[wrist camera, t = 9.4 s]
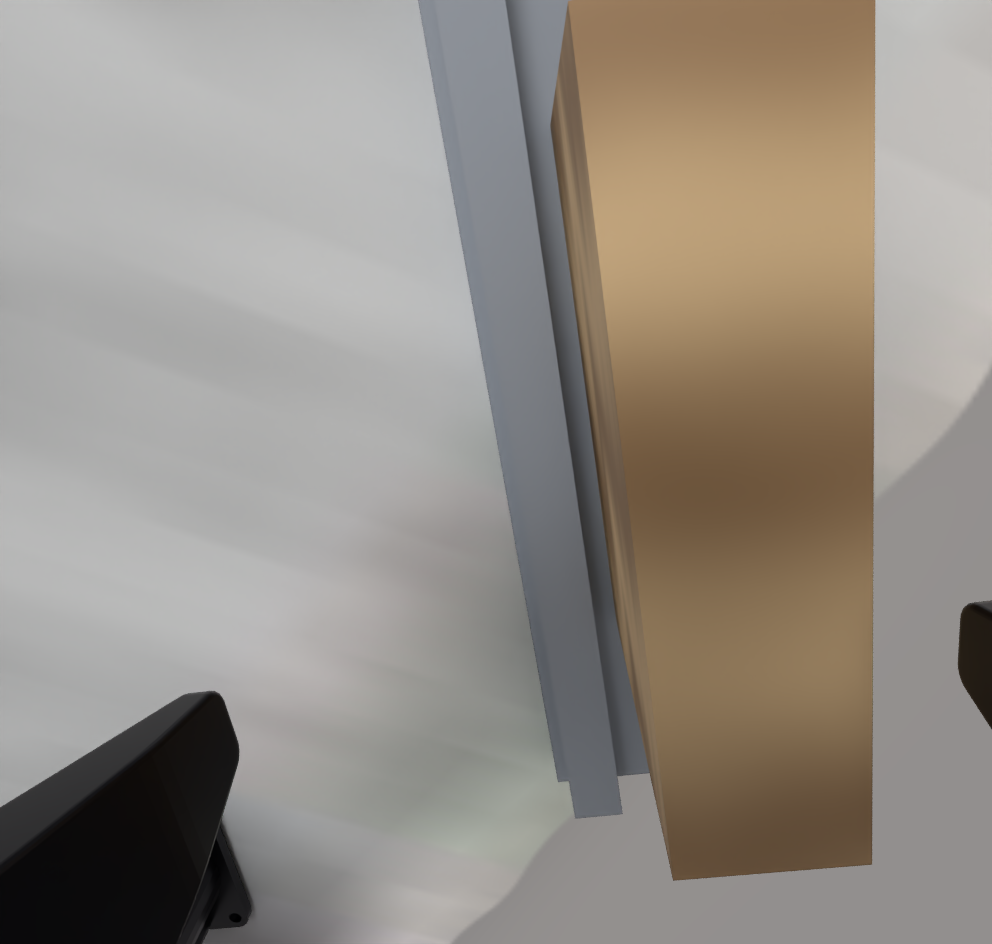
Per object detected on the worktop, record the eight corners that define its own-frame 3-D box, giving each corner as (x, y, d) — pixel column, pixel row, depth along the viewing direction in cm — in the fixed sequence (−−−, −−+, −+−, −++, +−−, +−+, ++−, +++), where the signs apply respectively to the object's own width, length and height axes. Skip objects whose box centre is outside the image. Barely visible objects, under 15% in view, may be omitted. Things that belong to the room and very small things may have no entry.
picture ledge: (816, 730, 23) (852, 793, 21) (556, 756, 24) (560, 819, 21) (790, -213, 15) (845, -311, 12) (401, -119, 16) (375, -190, 13)
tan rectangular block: (736, 605, 20) (880, 863, 12) (615, 620, 21) (673, 880, 12) (701, 94, 16) (888, -70, 8) (550, 125, 16) (568, 1, 8)
